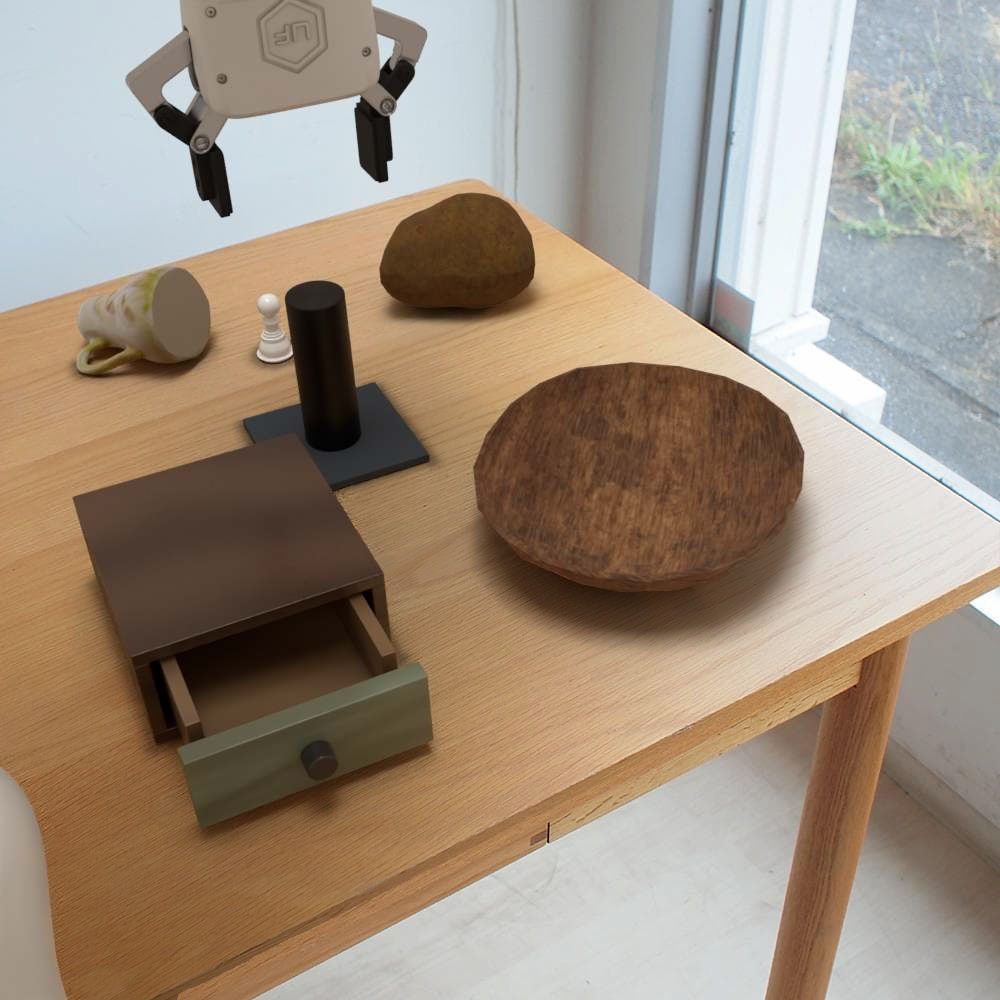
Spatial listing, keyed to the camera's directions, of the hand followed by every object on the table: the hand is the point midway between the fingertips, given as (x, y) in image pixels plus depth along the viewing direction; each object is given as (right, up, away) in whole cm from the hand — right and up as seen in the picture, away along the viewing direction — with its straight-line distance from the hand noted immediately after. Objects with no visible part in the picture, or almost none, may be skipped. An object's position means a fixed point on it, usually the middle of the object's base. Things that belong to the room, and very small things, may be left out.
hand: (298, 191), depth 79 cm
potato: (+9, -2, +27) cm, 29 cm away
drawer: (0, -29, -8) cm, 30 cm away
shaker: (+1, -14, +12) cm, 18 cm away
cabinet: (-3, -25, -1) cm, 26 cm away
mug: (-15, -7, +22) cm, 28 cm away
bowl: (+21, -20, +5) cm, 29 cm away
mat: (+1, -15, +12) cm, 19 cm away
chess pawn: (-5, -8, +21) cm, 23 cm away
